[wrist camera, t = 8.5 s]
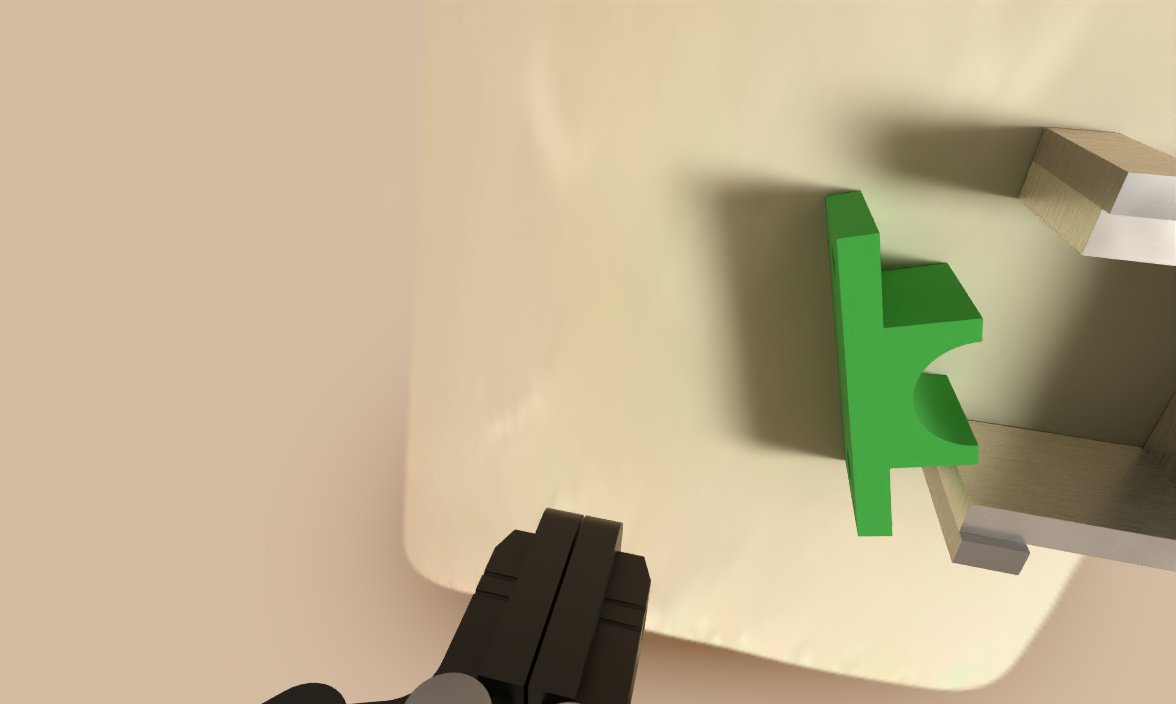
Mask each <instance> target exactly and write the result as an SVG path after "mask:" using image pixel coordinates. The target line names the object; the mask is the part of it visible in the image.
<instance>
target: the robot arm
mask: <svg viewBox="0 0 1176 704" xmlns="http://www.w3.org/2000/svg"><path fill="white" fill-rule="evenodd" d="M622 531H623V523H621V522H616V521H611V520H606V519H601V518H596V517H591V516H585V518H584V515H580V514H576V513H571V512H566V511H561V510H556V509H551V508H546V510H545V511H544V513H543V516H542V518H541V520H540V523H539V525H538V528H537V530H536V533H535V534H534V533H529V532H524V531H520V530H514V531H513V532H512V533H511V534H509V535H508V536H507V537H506V538H505V539H504V540H503V541H502V542H501V543H500V544H499V545H497V546H496V547H495V549H494V551H493V554H492V556H491V558H490V560H489V562H488V564H487V566H486V569H485V572H484V575H482V577H481V579H480V581H479V584H478V586H477V588H476V592H475V594H473V597H472V599H471V601H470V603H469V605H468V607H467V610H466V612H465V614H464V616H463V618H462V620H461V623H460V625H459V627H458V629H457V631H456V633H455V635H454V638H453V640H452V642H451V644H450V646H449V648H448V650H447V653H446V655H445V657H444V659H443V661H442V663H441V665H440V667H439V669H438V670H437V672H436V673H435V674H434V675H433V677H432V678H430V679H428V680H426V681H425V682H423V683H422V684H421V685H419V686H418V687H417V688H416V689H415V690H414V691H413V692H412V693H411V694H409V695H406V696H404V697H401V698H398V699H394V700H388V701H378V702H367V703H356V704H631V698H632V693H633V688H634V682H635V677H636V672H637V667H638V661H639V656H640V651H641V645H642V640H643V635H644V628H645V621H646V614H647V606H648V599H649V592H650V584H651V580H650V576H649V572H648V569H647V565H646V562H645V558H644V557H643V556H639V555H634V554H629V553H624V552H620V551H621V541H622ZM262 704H346V702H345V699H344V698H343V696H342V695H341V694H340V693H339V692H338V691H337V690H336V689H334V688H333V687H331V686H329V685H326V684H320V683H307V684H302V685H298V686H295V687H292V688H290V689H288V690H286V691H284V692H282V693H280V694H279V695H277V696H275V697H273V698H271V699H269V700H268V701H266V702H264V703H262Z"/></svg>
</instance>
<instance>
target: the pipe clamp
mask: <svg viewBox="0 0 1176 704" xmlns="http://www.w3.org/2000/svg"><path fill="white" fill-rule="evenodd" d="M825 203H826V216H827V229H828V242H829V255H830V267H831V280H832V293H833V306H834V319H835V332H836V345H837V357H838V370H839V383H840V396H841V409H842V422H843V435H844V447H845V460H846V466H847V472H848V478H849V485H850V491H851V497H852V503H853V509H854V515H855V521H856V527H857V533H858V536H892V517H891V493H890V469H889V468H907V467H932V466H957V465H978V459H979V445H978V443H977V440H976V438H975V436H974V434H973V432H972V429H971V427H970V425H969V423H968V421H967V419H966V416H965V414H964V412H963V410H962V408H961V405H960V403H959V401H958V399H957V397H956V394H955V392H954V390H953V388H952V386H951V383H950V381H949V379H948V377H947V375H942V376H940V375H929V374H925V373H922V372H923V371H924V369H925V368H926V367H927V366H928V365H929V364H930V363H931V362H932V361H934V360H935V359H936V358H938V357H939V356H940V355H942V354H944V353H945V352H947V351H949V350H951V349H954V348H956V347H959V346H962V345H965V344H969V343H974V342H981V341H982V327H983V318H982V316H981V315H980V313H979V312H978V310H977V309H976V307H975V305H974V304H973V302H972V301H971V299H970V298H969V296H968V294H967V293H966V291H965V290H964V288H963V287H962V285H961V283H960V282H959V280H958V279H957V277H956V276H955V274H954V273H953V271H952V269H951V268H950V266H949V265H948V263H942V264H934V265H926V266H918V267H910V268H902V269H893V270H885V271H881V257H880V234H879V231H878V229H877V226H876V224H875V222H874V220H873V217H872V215H871V213H870V211H869V208H868V206H867V204H866V202H865V200H864V197H863V195H862V193H861V191H854V192H847V193H841V194H835V195H829V196H825Z"/></svg>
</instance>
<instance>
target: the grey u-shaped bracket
mask: <svg viewBox="0 0 1176 704" xmlns="http://www.w3.org/2000/svg"><path fill="white" fill-rule="evenodd" d="M1018 199H1019V200H1020V201H1021V202H1022V203H1023V204H1025V205H1026V206H1027V207H1028V208H1029V209H1030V210H1031V211H1032V212H1034V213H1035V214H1036V215H1037V216H1038V217H1039V218H1040V219H1042V220H1043V221H1044V222H1045V223H1046V224H1047V225H1048V226H1049V227H1051V228H1052V229H1053V230H1054V231H1055V232H1056V233H1057V234H1058V235H1060V236H1061V237H1062V238H1063V239H1064V240H1065V241H1066V242H1067V243H1069V244H1070V245H1071V246H1072V247H1073V248H1074V249H1075V250H1076V251H1078V252H1079V253H1080V254H1081V255H1084V256H1092V257H1101V258H1110V259H1119V260H1128V261H1137V262H1146V263H1154V264H1163V265H1172V266H1176V158H1174V157H1172V156H1170V155H1167V154H1165V153H1163V152H1161V151H1158V150H1156V149H1154V148H1152V147H1149V146H1147V145H1145V144H1143V143H1140V142H1138V141H1136V140H1134V139H1131V138H1129V137H1127V136H1125V135H1122V134H1120V133H1111V132H1099V131H1087V130H1075V129H1062V128H1050V127H1045V129H1044V132H1043V134H1042V137H1041V140H1040V142H1039V145H1038V148H1037V150H1036V153H1035V156H1034V158H1033V161H1032V164H1031V166H1030V169H1029V172H1028V174H1027V177H1026V180H1025V182H1024V185H1023V188H1022V190H1021V193H1020V196H1019V198H1018ZM967 421H968V423H969V425H970V427H971V429H972V432H973V434H974V436H975V438H976V440H977V443H978V445H979V459H978V465H957V466H932V467H922V469H923V472H924V475H925V478H926V481H927V485H928V488H929V491H930V494H931V497H932V500H933V503H934V507H935V510H936V513H937V516H938V519H939V522H940V526H941V529H942V532H943V535H944V538H945V541H946V545H947V548H948V551H949V554H950V557H951V560H952V563H958V564H963V565H968V566H973V567H978V568H984V569H989V570H994V571H999V572H1004V573H1009V574H1015V575H1019V573H1020V571H1021V570H1022V568H1023V566H1024V564H1025V562H1026V560H1027V558H1028V556H1029V554H1030V552H1029V550H1028V547H1027V545H1026V544H1029V545H1034V546H1040V547H1045V548H1050V549H1056V550H1061V551H1067V552H1072V553H1077V554H1083V555H1088V556H1094V557H1099V558H1104V559H1110V560H1115V561H1121V562H1126V563H1132V564H1137V565H1142V566H1148V567H1153V568H1159V569H1164V570H1169V571H1175V572H1176V392H1175V394H1174V396H1173V397H1172V399H1171V401H1170V403H1169V404H1168V406H1167V408H1166V409H1165V411H1164V413H1163V415H1162V416H1161V418H1160V420H1159V421H1158V423H1157V425H1156V426H1155V428H1154V430H1153V432H1152V433H1151V435H1150V437H1149V438H1148V440H1147V442H1146V444H1145V445H1144V447H1143V448H1142V447H1136V446H1129V445H1123V444H1117V443H1110V442H1104V441H1098V440H1091V439H1085V438H1078V437H1072V436H1066V435H1059V434H1053V433H1047V432H1040V431H1034V430H1028V429H1021V428H1015V427H1008V426H1002V425H996V424H989V423H983V422H977V421H970V420H967Z"/></svg>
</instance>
